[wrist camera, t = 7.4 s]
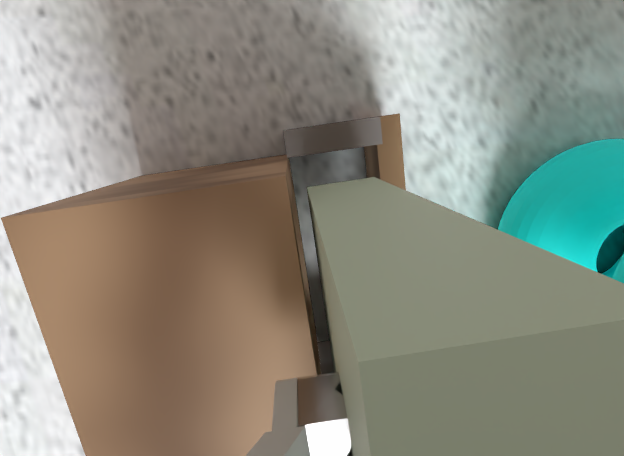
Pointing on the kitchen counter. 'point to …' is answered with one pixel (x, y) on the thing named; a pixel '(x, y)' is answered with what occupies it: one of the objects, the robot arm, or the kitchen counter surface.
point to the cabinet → (184, 296)
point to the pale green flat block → (463, 332)
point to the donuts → (572, 204)
